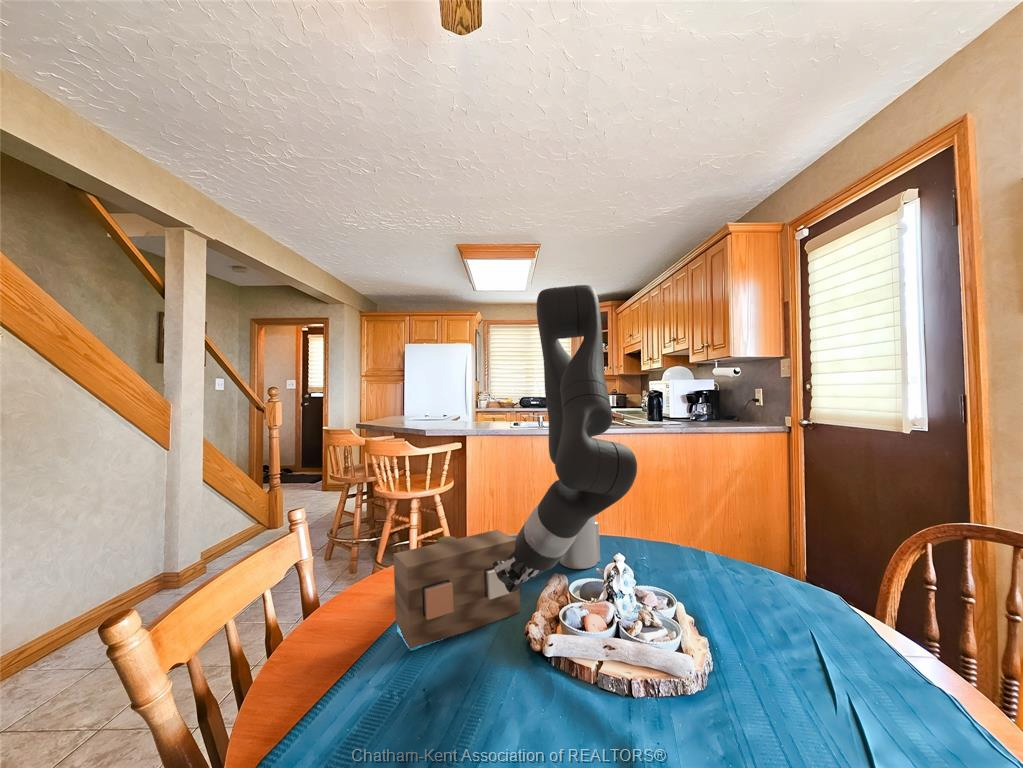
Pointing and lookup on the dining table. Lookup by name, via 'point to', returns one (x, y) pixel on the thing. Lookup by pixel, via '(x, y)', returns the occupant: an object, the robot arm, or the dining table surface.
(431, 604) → the terracotta button
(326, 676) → the dining table surface
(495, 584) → the cream button
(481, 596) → the walnut panel
